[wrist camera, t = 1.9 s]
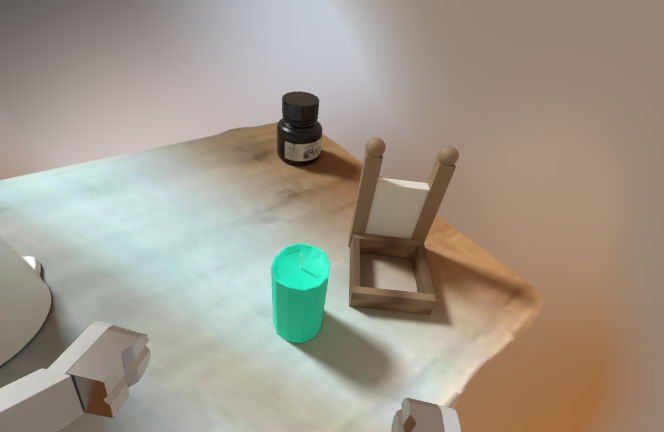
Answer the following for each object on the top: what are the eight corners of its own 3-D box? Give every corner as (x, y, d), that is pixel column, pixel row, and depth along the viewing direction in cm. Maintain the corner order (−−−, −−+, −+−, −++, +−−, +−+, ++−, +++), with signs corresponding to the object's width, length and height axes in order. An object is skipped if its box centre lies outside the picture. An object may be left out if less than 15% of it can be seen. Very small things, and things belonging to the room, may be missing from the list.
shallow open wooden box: (349, 305, 42) (352, 292, 40) (350, 246, 50) (353, 232, 48) (429, 314, 42) (436, 301, 40) (417, 254, 50) (423, 240, 48)
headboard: (347, 247, 50) (367, 142, 38) (347, 236, 51) (367, 132, 40) (420, 255, 50) (463, 153, 38) (418, 244, 52) (459, 143, 40)
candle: (304, 291, 43) (308, 225, 35) (332, 325, 40) (344, 261, 32) (264, 315, 40) (259, 249, 32) (291, 353, 37) (293, 290, 29)
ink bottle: (288, 171, 63) (289, 112, 55) (268, 149, 68) (266, 93, 60) (329, 159, 68) (335, 104, 60) (307, 140, 73) (310, 86, 65)
